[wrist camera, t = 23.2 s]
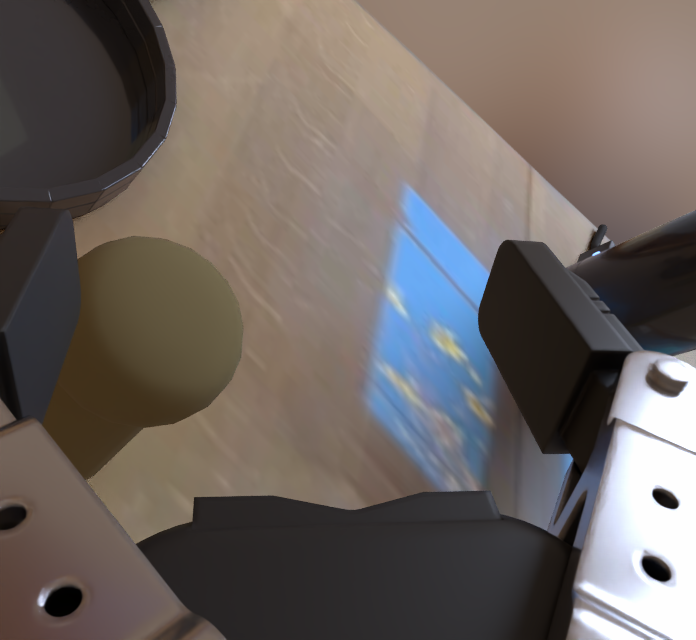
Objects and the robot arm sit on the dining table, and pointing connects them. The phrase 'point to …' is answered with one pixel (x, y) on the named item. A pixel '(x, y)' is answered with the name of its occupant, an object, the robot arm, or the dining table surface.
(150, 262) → the olive game pawn
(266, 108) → the dining table surface
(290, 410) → the dining table surface
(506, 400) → the dining table surface
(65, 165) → the pan
